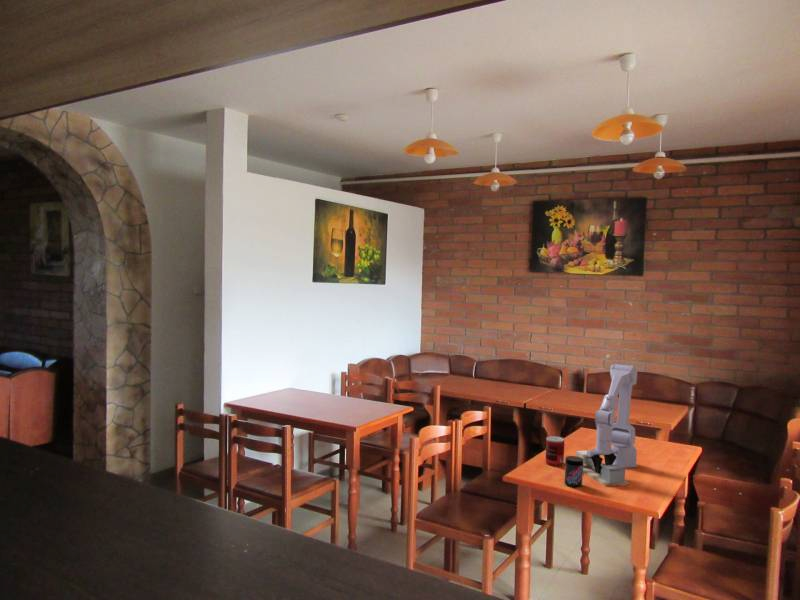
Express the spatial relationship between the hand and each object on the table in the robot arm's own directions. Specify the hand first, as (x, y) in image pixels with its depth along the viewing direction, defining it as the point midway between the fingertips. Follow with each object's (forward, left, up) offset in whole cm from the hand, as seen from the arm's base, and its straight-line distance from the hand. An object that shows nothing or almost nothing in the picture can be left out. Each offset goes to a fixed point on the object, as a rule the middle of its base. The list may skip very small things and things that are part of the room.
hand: (602, 472), depth 234 cm
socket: (0, +7, -1) cm, 7 cm away
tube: (0, -2, -1) cm, 2 cm away
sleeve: (0, -12, -2) cm, 12 cm away
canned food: (+11, -19, -2) cm, 22 cm away
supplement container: (+17, +6, -2) cm, 18 cm away
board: (0, -3, -2) cm, 4 cm away
